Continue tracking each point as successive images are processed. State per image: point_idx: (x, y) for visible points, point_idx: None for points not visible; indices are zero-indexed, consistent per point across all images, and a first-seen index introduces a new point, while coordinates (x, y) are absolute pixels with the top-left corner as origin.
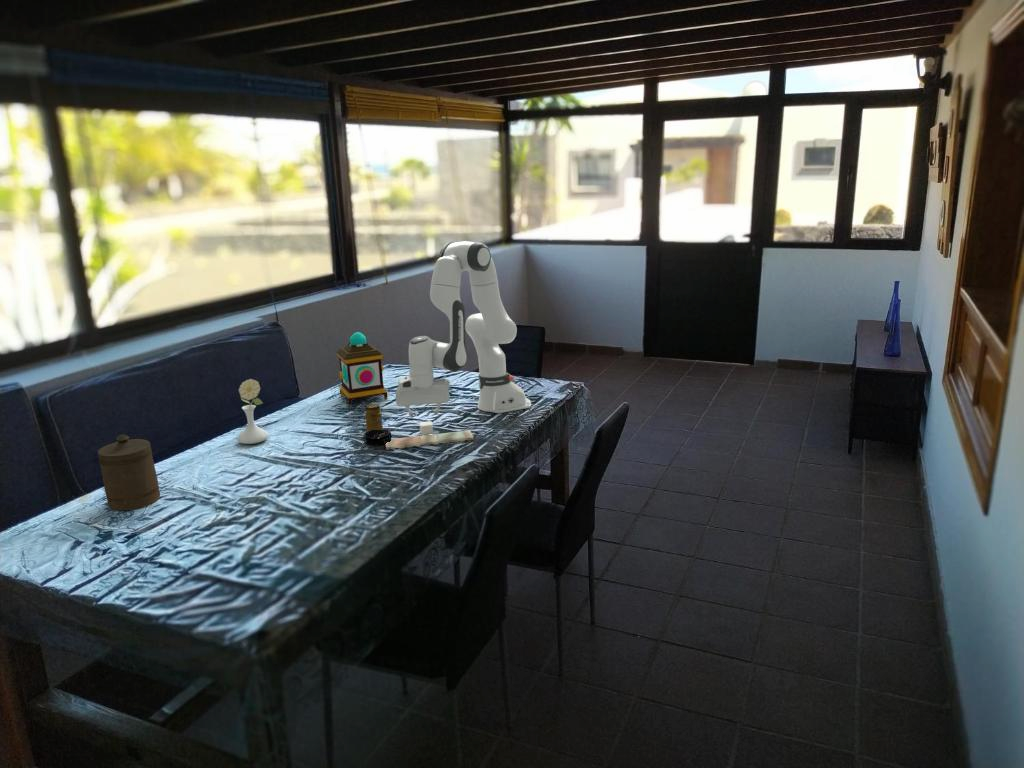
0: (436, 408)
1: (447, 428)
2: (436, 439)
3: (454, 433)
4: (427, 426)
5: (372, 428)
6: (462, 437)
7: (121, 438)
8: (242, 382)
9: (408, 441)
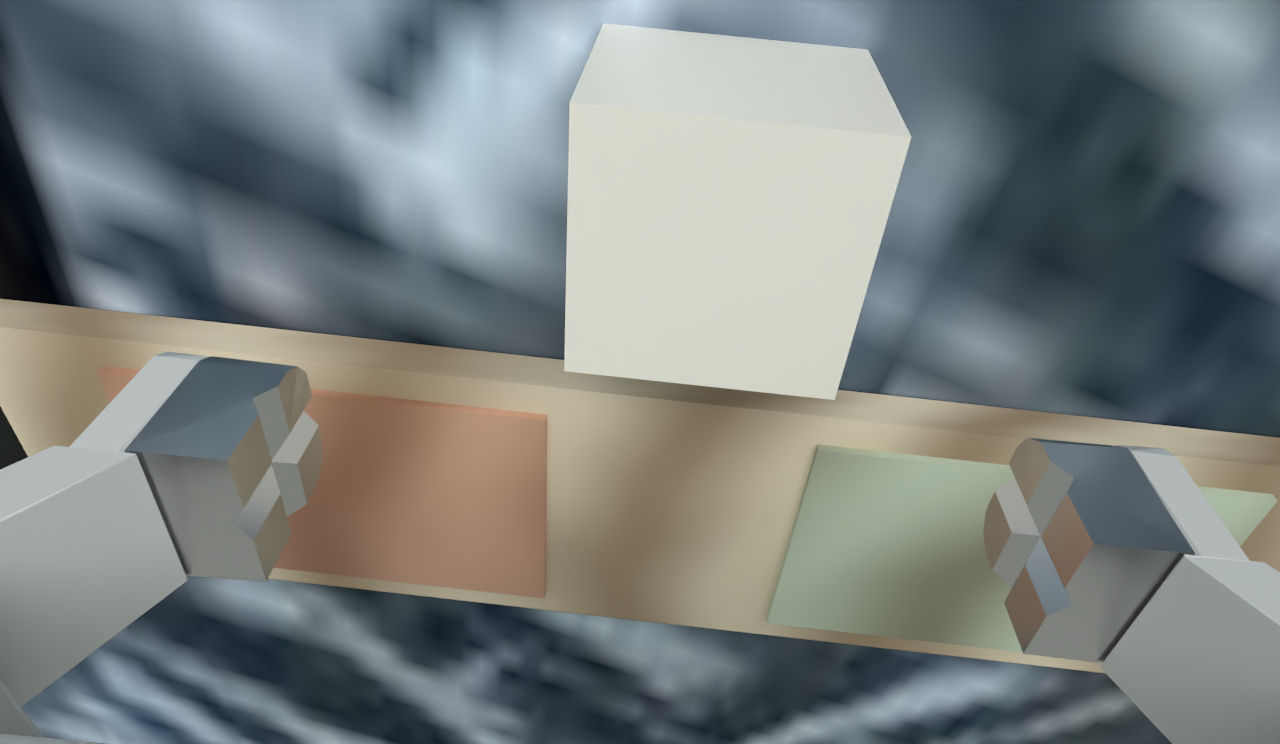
0: (1191, 618)
1: (1246, 58)
2: (755, 582)
3: None
4: (715, 371)
5: None
6: None
7: None
8: None
9: (359, 525)
